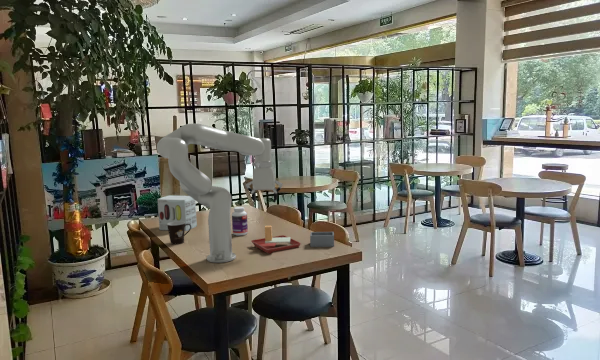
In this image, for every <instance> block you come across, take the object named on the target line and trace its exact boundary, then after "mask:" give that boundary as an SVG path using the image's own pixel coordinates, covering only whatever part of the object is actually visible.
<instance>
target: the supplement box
mask: <svg viewBox="0 0 600 360" xmlns="http://www.w3.org/2000/svg"><path fill="white" fill-rule="evenodd" d="M196 206H197V204H196V200H194V199H193V198H192V197H190V196H189V195H172V194H171V195H166V196H163V197H160V198H157V211H158V228H159V231H168V226H167V224H168V223H171V222H185V224H190V225H191V230H192V229H194V228H196V227H197V226H198V224H197V207H196ZM190 225H186V226H185V232H188V231H189V229H190Z"/></svg>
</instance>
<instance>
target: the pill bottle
mask: <svg viewBox="0 0 600 360" xmlns="http://www.w3.org/2000/svg"><path fill="white" fill-rule="evenodd" d="M231 231H232V235H233V236H245V235H248V233H249V230H248V213H247V212H246V211H245V207H244V206H235V207H233V212H232V213H231Z"/></svg>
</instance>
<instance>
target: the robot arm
mask: <svg viewBox="0 0 600 360" xmlns="http://www.w3.org/2000/svg"><path fill="white" fill-rule="evenodd" d="M190 144H193V145H198V146H203V147H208V148H212V149H214V150H215V149H216V150H221V151H226V152H228V151H229V152H238V153H239V154H240V155H243V156H254V162H252V163H251V166H252V167H254V168H253V170H252V180H251V181H250V182H247V183H246V184H245V187H246V190H247V191H248V192H249V193H250V194H251V201H253V203H256V201H257V198H256V197H257V196H256V194H257V193H256V192H257V191H272V192H273V202H274V203H276V201H277V200H278V193H279V192H280V191H281V189H282V187H283V185H284V184H283V183H282V182H280V181H278V180H276V176H275V172H274V171H275V170H274V168H273V167H272V141H271V139H270V138H267V137H266V138H265V137H263V138H257V137H253V136H249V135H246V134H241V133H236V132H233V131H228V130H224V129H220V128H215V127H212V126H209V125H206V124H203V123H186V124H183V125H182V126H180V127H178V128H177V129H175V130H173V131H172V132H169V133H168V134H167V135H165V136H163V137H162V138H161V139H159V141H158V142H157V144H156V152H157V153H158V154H159V155H160V156H161V157H162V158H165V159H168V160H167V161H168V169H169V172H170V173H171V175H172V176H173V177H174V178H175V179H176V180H178V182H179V187H180V189H181V190H182V191H183V192H184V193H185V194H187V196H190V197H192V198H193V199H194V200H195V202H197V203H198V204H199V205H202V206H204V207H207V208H209V213H208V217H207V222H208V238H209V239H208V240H209V241H208V242H209V255H207V256H206V260H207V262H210V263H227V262H231V261H234V260H235V259H236V258H237V255H236V253H234V252H233V243H232V241H233V240H232V239H233V238H232V219H231V210H232V209H231V208H232V200H233V199H232V194H231V193H230V191H229V190H228V189H227V188H224V187H221V186H215V185H213V184H212V183H213V182H212V180H211V179H210V177H209V176H207V175H206V174H205V173H204V172H202V171H201V170H200V169H198V168H197V167H196V166H195V165H193V164H192V162H191V161H190V159H189V147H188V146H189V145H190ZM251 185H252V188H251V187H250V186H251ZM276 185H278V187H277V188H276Z"/></svg>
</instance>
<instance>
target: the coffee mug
mask: <svg viewBox="0 0 600 360" xmlns="http://www.w3.org/2000/svg"><path fill="white" fill-rule="evenodd" d="M186 225H190V224H185V222H171V223H168V224H167V226H168V230H167V231H168V236H169V240H170V245H173V246H175V245H177V246H178V245H182V244H184V243H185V236H186V235H187V234H189V232H191V230H192V229H191V225H190V229H189V230H188V231H185V226H186Z"/></svg>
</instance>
